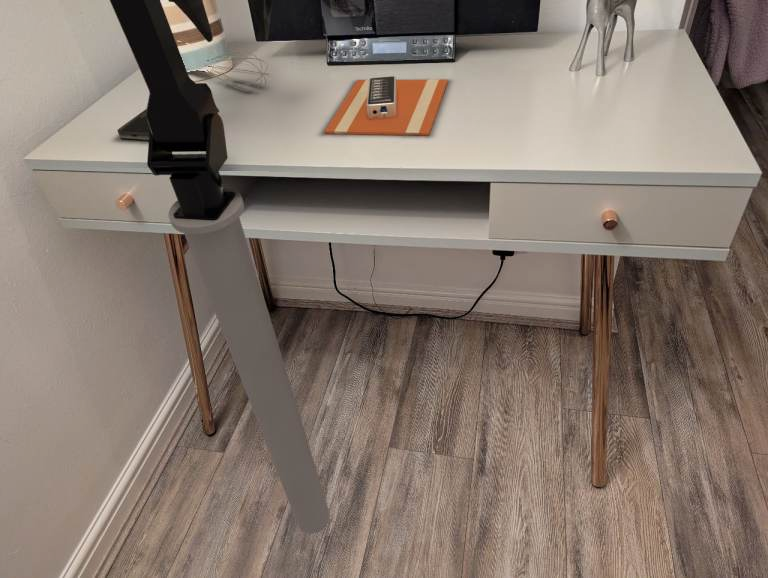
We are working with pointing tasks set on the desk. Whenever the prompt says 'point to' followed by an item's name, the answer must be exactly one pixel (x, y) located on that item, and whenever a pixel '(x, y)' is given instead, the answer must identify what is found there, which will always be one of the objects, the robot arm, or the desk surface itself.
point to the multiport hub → (382, 98)
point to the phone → (136, 128)
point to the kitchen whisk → (240, 69)
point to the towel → (412, 110)
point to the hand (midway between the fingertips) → (237, 40)
